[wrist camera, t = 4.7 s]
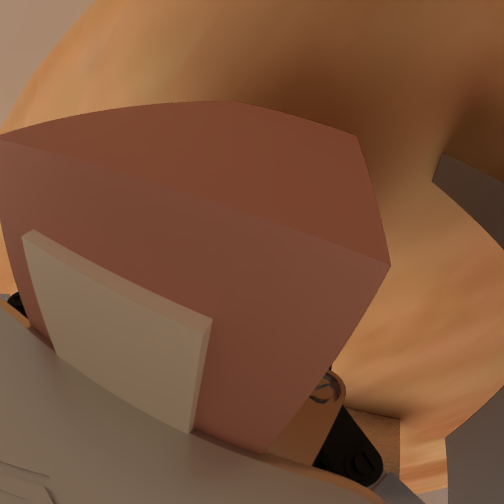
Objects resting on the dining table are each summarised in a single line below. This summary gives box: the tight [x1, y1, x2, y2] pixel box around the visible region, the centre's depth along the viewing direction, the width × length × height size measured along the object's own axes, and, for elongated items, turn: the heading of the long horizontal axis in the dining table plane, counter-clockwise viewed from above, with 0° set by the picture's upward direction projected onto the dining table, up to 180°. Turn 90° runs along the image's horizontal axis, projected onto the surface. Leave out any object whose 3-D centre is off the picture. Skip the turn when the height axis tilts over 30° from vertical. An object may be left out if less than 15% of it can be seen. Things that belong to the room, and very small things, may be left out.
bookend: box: [345, 407, 400, 479], centre depth 19 cm, size 6×8×7 cm
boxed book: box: [0, 101, 391, 455], centre depth 9 cm, size 12×4×9 cm, turn 166°
